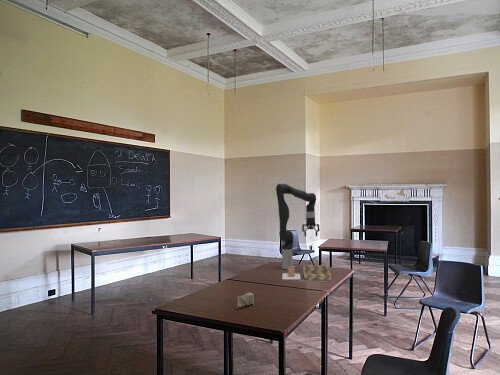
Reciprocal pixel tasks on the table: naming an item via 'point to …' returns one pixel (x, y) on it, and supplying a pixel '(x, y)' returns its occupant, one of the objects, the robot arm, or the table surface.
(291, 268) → the terracotta pot
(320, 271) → the frame
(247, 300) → the model
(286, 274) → the grey mat
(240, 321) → the table surface
